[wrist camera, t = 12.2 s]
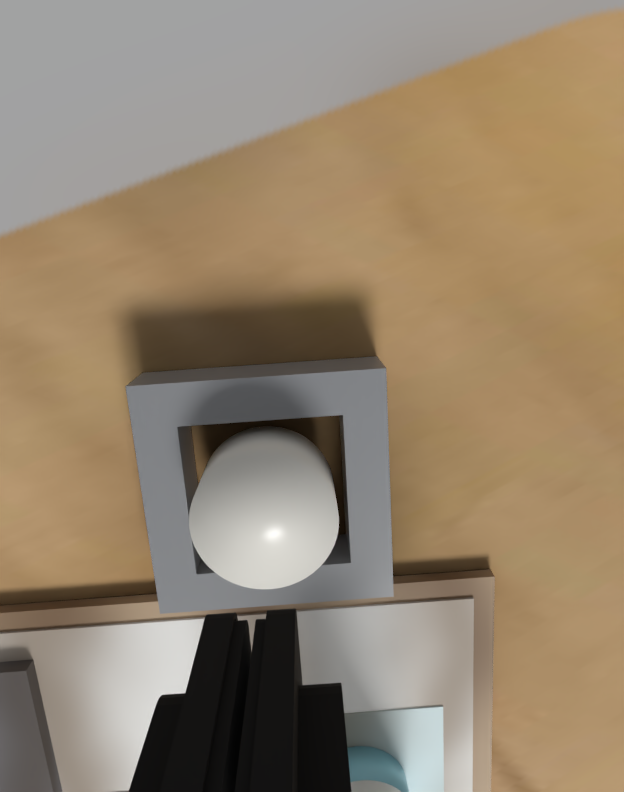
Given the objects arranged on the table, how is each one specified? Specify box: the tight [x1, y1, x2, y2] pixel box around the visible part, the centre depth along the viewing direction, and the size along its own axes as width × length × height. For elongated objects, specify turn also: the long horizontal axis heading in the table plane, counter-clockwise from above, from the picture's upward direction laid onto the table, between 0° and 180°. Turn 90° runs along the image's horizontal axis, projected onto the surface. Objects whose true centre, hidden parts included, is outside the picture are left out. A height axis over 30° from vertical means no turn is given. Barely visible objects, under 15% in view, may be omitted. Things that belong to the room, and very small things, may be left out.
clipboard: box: [0, 569, 495, 792], centre depth 23 cm, size 20×14×1 cm
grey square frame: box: [126, 356, 394, 614], centre depth 19 cm, size 8×8×2 cm
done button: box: [189, 426, 339, 589], centre depth 18 cm, size 4×4×2 cm
